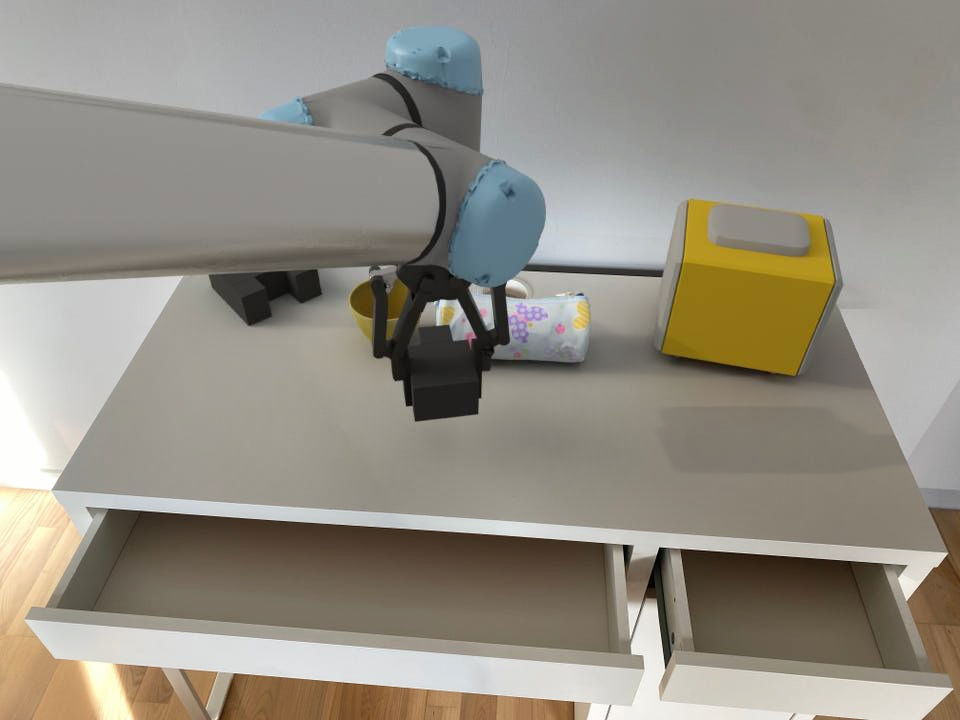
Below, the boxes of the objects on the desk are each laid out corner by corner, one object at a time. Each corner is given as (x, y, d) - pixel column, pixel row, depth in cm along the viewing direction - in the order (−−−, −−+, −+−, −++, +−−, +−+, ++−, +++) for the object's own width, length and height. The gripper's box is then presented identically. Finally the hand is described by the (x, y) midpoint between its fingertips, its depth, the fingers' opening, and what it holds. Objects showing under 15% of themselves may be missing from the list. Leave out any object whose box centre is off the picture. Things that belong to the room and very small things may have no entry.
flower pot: (407, 308, 105) (404, 267, 100) (439, 347, 99) (437, 305, 94) (343, 329, 101) (337, 288, 97) (371, 371, 95) (366, 329, 90)
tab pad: (414, 422, 77) (412, 388, 74) (405, 361, 85) (403, 328, 81) (478, 414, 78) (479, 381, 75) (463, 355, 86) (463, 322, 82)
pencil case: (584, 333, 101) (592, 278, 95) (590, 375, 95) (599, 319, 88) (437, 330, 101) (434, 275, 95) (433, 372, 95) (430, 316, 89)
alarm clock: (793, 316, 105) (836, 204, 92) (801, 389, 93) (852, 272, 81) (657, 295, 108) (681, 184, 96) (649, 363, 97) (675, 247, 84)
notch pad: (248, 326, 102) (241, 297, 98) (212, 287, 108) (203, 260, 105) (322, 294, 108) (317, 266, 104) (283, 259, 114) (277, 232, 111)
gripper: (534, 185, 69) (521, 362, 85) (326, 200, 67) (351, 381, 82) (554, 225, 64) (536, 407, 79) (328, 243, 61) (354, 428, 76)
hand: (442, 393), depth 80 cm, fingers closed on tab pad, 7 cm apart
